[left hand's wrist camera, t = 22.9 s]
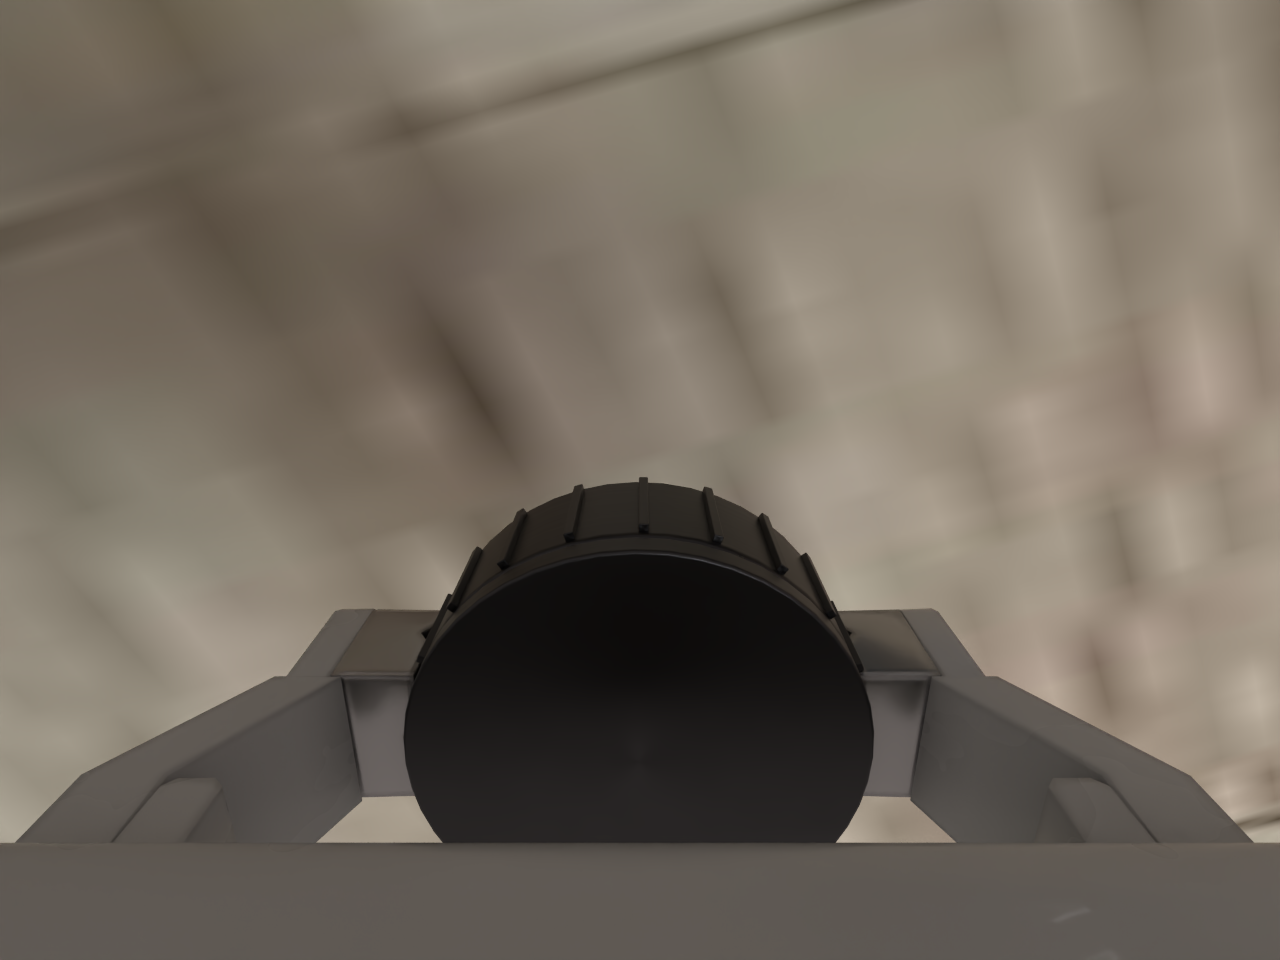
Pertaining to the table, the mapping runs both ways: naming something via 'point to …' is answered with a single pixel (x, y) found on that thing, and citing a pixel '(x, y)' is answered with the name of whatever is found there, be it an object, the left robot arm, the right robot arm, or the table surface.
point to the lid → (638, 682)
